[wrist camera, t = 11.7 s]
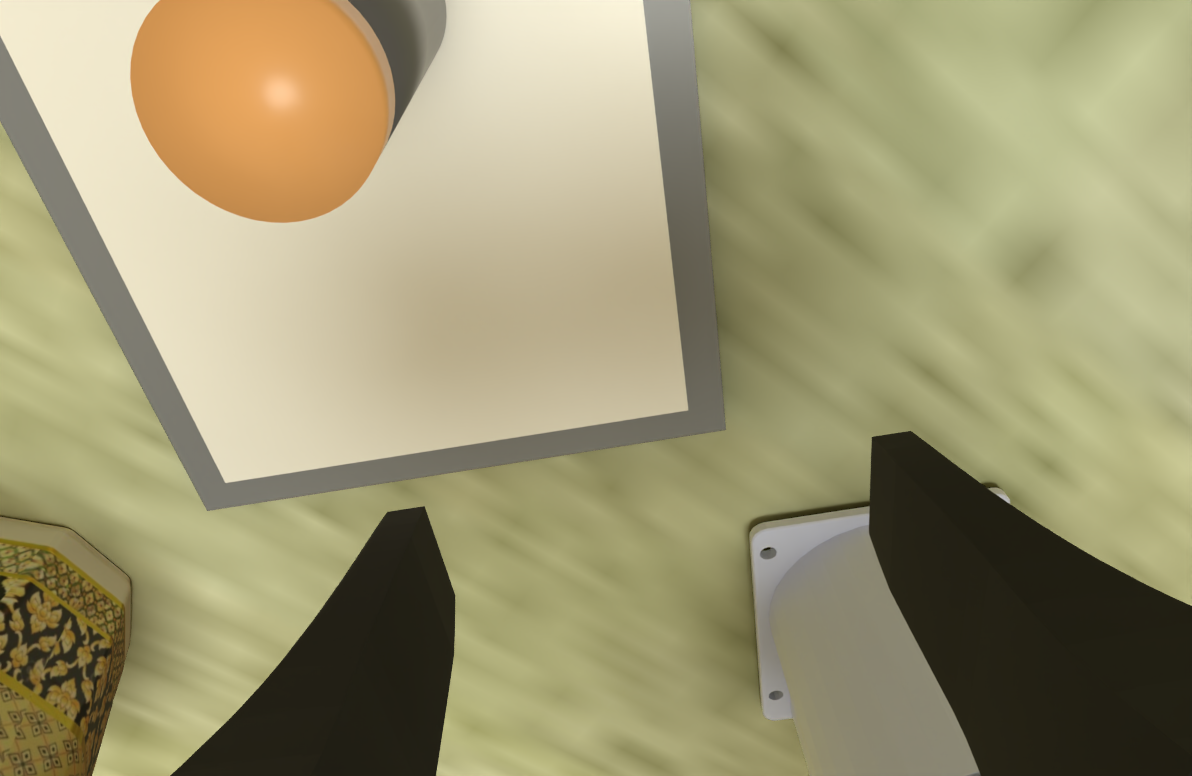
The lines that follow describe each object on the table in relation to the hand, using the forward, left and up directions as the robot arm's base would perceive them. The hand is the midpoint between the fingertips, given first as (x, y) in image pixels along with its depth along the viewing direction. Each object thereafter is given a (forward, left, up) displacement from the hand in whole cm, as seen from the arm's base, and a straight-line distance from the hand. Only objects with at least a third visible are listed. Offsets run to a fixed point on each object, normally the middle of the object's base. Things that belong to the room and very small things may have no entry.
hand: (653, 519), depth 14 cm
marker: (+7, +4, -9) cm, 12 cm away
